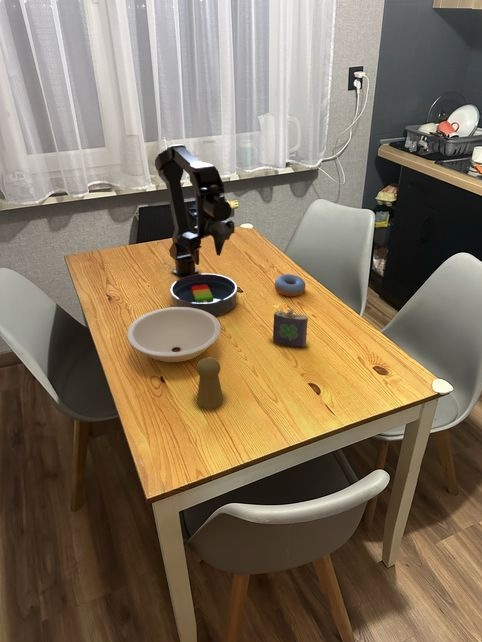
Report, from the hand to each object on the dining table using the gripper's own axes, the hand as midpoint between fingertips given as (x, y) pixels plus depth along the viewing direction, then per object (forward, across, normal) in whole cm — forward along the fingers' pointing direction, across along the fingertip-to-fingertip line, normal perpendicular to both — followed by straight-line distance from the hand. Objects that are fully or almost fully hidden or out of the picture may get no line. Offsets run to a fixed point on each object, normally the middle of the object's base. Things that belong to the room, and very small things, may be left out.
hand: (208, 259), depth 153 cm
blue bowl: (+12, -5, -3) cm, 13 cm away
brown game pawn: (+11, -37, -38) cm, 54 cm away
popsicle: (+11, -5, -3) cm, 13 cm away
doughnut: (+12, +18, -18) cm, 29 cm away
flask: (+12, -6, -37) cm, 39 cm away
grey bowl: (+12, -29, -16) cm, 35 cm away
